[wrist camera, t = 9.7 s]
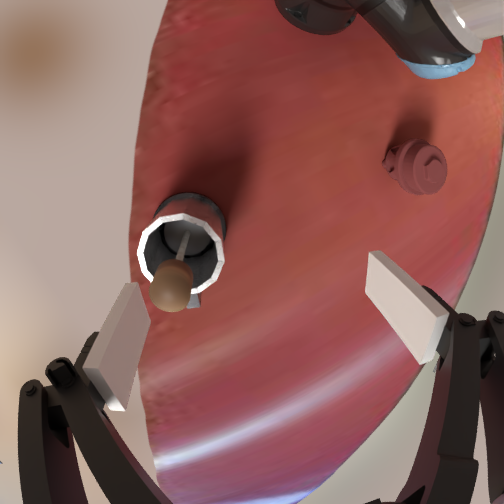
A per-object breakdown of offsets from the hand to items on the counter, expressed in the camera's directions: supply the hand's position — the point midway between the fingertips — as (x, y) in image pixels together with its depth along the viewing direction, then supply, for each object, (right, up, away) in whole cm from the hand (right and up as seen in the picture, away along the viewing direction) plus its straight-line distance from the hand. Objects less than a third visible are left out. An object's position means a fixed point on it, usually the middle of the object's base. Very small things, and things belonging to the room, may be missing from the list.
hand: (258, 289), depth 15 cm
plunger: (-11, +5, +32) cm, 34 cm away
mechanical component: (+28, +20, +33) cm, 47 cm away
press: (-11, +5, +34) cm, 36 cm away
